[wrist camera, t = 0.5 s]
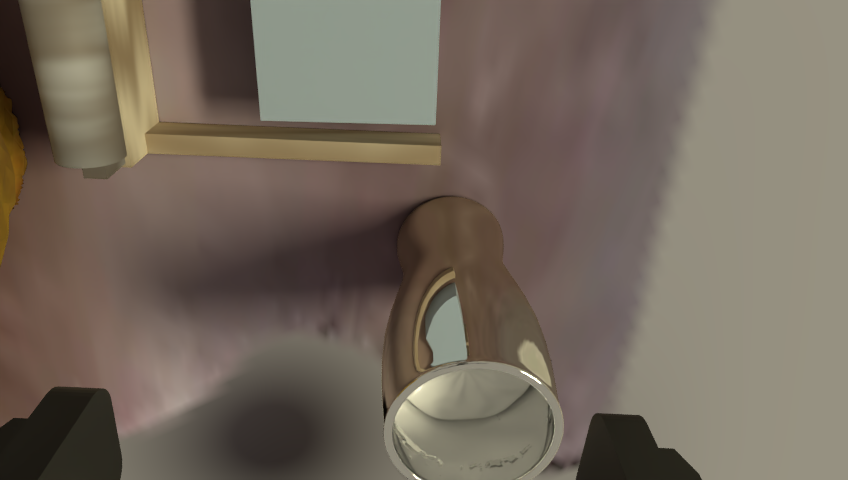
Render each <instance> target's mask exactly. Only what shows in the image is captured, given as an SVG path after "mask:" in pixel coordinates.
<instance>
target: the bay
mask: <svg viewBox="0 0 848 480" xmlns="http://www.w3.org/2000/svg"><path fill="white" fill-rule="evenodd" d="M18 2H19V6H20V10H21V15H22V19H23V24H24V28H25V33H26V37H27V42H28V46H29V50H30V55H31V59H32V64H33V68H34V73H35V77H36V82H37V86H38V90H39V95H40V99H41V104H42V108H43V113H44V117H45V122H46V126H47V130H48V135H49V139H50V144H51V148H52V153H53V157H54V161H55V163H56V164H57V165H59V166H62V167H67V168H82V171H83V176H84V178H92V179H108V178H109V177H110V176H112V175H113V174H114V173H115V172H116V171H117V170H118V169H120V168H121V167H131V168H132V167H133V166H134V165H135V164H136V163H137V162H139V161H140V160H141V159H142V158H143V157H144V156H145V155H146V154H147V153H152V154H176V155H201V156H226V157H251V158H275V159H300V160H325V161H349V162H374V163H399V164H423V165H440V160H441V140H440V134H430V133H406V132H383V131H359V130H336V129H312V128H289V127H265V126H242V125H218V124H195V123H171V122H159V118H158V111H157V104H156V97H155V90H154V83H153V76H152V69H151V62H150V55H149V48H148V41H147V34H146V27H145V20H144V13H143V6H142V0H18Z"/></svg>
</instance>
